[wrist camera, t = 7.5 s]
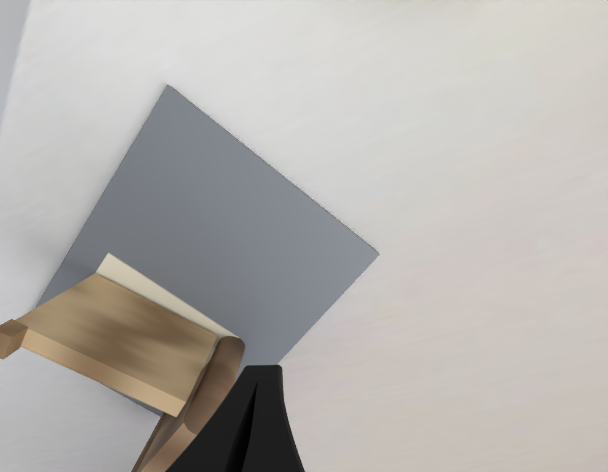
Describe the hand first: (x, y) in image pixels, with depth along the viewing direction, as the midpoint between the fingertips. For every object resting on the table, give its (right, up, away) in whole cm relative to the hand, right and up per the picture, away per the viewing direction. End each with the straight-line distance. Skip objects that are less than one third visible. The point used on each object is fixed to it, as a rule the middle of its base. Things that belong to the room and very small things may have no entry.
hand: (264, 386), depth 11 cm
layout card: (-6, +2, +9) cm, 11 cm away
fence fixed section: (-6, -5, +11) cm, 14 cm away
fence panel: (-9, 0, +9) cm, 12 cm away
